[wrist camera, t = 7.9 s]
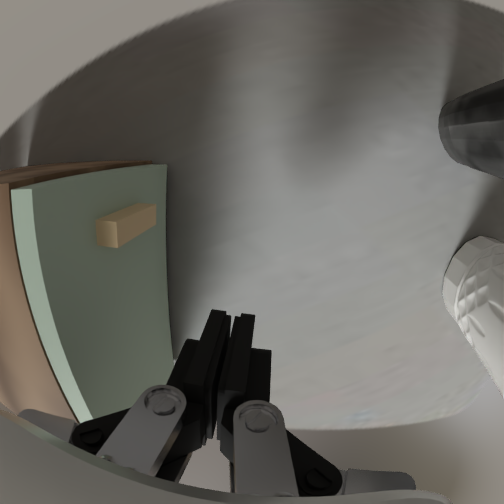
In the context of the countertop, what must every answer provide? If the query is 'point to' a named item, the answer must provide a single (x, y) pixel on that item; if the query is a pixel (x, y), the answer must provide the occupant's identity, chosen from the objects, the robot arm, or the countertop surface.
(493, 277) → the white cup
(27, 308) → the wooden storage crate
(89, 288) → the door
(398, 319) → the countertop surface
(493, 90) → the beverage cup
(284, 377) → the countertop surface
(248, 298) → the countertop surface
